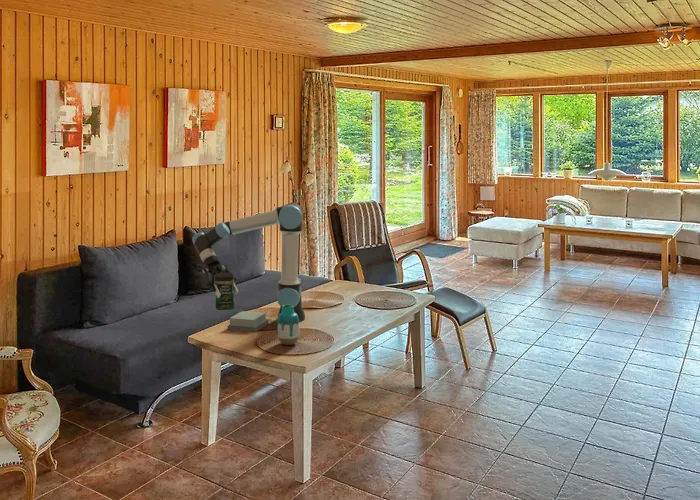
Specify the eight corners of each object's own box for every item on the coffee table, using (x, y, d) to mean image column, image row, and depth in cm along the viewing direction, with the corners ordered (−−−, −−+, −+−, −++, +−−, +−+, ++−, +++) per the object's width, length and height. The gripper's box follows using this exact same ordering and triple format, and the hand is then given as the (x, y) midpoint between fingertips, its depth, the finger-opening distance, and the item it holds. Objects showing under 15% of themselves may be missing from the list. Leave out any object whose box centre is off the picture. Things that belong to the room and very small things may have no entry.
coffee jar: (215, 311, 319) (213, 274, 316) (216, 307, 327) (214, 271, 324) (235, 310, 321) (233, 273, 318) (235, 306, 329) (233, 270, 325)
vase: (300, 340, 317) (299, 302, 313) (299, 347, 306) (298, 308, 303) (278, 340, 316) (277, 303, 313) (276, 347, 306) (275, 308, 303)
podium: (268, 323, 346) (267, 312, 345) (255, 331, 331) (255, 320, 330) (241, 321, 351) (240, 310, 350) (227, 329, 336) (227, 318, 335)
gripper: (225, 260, 339) (244, 294, 330) (188, 266, 324) (206, 302, 315) (230, 252, 334) (249, 286, 325) (192, 257, 319) (211, 294, 310)
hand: (228, 294), depth 320 cm, fingers closed on coffee jar, 9 cm apart
